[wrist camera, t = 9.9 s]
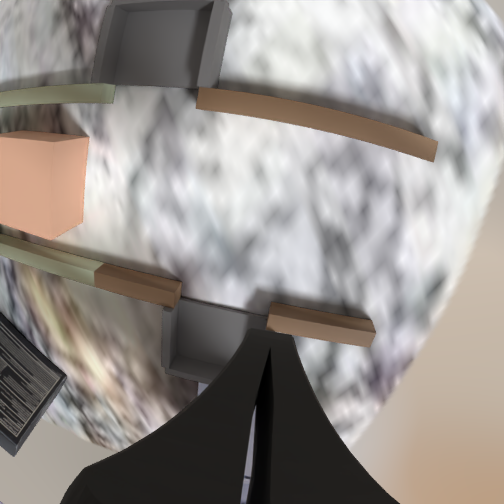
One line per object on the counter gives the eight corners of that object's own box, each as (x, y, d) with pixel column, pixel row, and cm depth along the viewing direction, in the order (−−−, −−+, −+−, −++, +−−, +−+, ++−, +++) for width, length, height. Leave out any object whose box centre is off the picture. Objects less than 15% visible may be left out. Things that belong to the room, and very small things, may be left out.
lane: (365, 334, 21) (372, 357, 19) (-6, 243, 22) (-24, 253, 20) (427, 140, 16) (446, 142, 14) (-7, 94, 17) (-28, 95, 15)
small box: (-7, 338, 28) (-58, 389, 18) (-2, 308, 26) (-64, 362, 16) (56, 398, 29) (13, 460, 20) (69, 375, 27) (17, 446, 18)
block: (84, 221, 21) (50, 240, 17) (20, 203, 21) (-13, 218, 17) (91, 136, 18) (53, 142, 15) (23, 130, 19) (-13, 136, 15)
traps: (260, 376, 23) (258, 395, 22) (103, 335, 24) (91, 349, 22) (339, 21, 14) (344, 9, 12) (124, 6, 15) (109, -3, 13)
